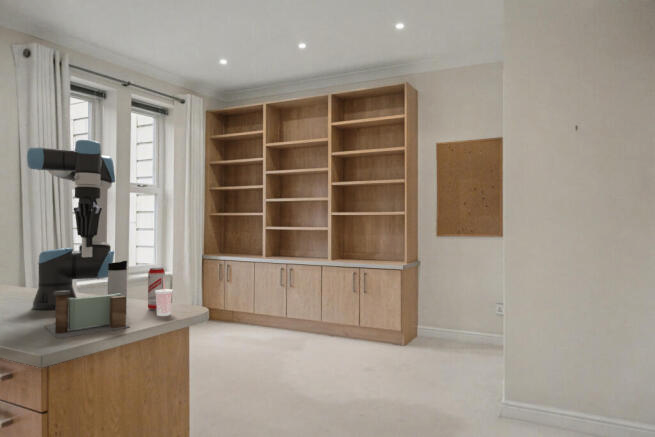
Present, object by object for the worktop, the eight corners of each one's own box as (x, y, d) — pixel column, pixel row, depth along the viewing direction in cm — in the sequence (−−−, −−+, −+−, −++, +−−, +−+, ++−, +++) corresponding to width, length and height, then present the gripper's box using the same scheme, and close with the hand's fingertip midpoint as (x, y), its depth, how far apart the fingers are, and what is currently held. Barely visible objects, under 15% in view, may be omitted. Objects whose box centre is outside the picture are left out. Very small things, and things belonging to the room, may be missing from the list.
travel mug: (119, 317, 153) (120, 261, 154) (103, 316, 155) (104, 261, 155) (131, 314, 160) (131, 260, 160) (115, 313, 161) (116, 259, 161)
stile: (109, 327, 139) (109, 296, 139) (122, 325, 142) (122, 295, 142) (112, 329, 136) (113, 298, 136) (125, 327, 139) (126, 296, 139)
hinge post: (51, 333, 131) (52, 291, 131) (68, 331, 134) (68, 290, 134) (54, 336, 128) (55, 293, 128) (71, 333, 131) (72, 291, 131)
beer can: (152, 307, 172) (152, 267, 172) (167, 307, 172) (167, 267, 172) (144, 310, 166) (145, 269, 166) (160, 310, 166) (161, 269, 166)
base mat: (44, 326, 140) (44, 325, 140) (110, 317, 154) (110, 316, 154) (58, 338, 125) (58, 337, 125) (129, 327, 139) (129, 326, 139)
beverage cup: (160, 317, 154) (160, 278, 155) (151, 314, 158) (152, 276, 159) (175, 314, 159) (176, 276, 159) (167, 312, 163) (167, 275, 163)
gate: (67, 328, 134) (68, 298, 134) (118, 321, 144) (118, 292, 144) (70, 330, 131) (70, 299, 131) (121, 322, 141) (121, 294, 141)
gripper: (65, 186, 145) (65, 256, 144) (87, 185, 138) (86, 258, 137) (88, 188, 151) (87, 255, 151) (109, 186, 144) (109, 257, 144)
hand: (86, 256), depth 144 cm, fingers closed
